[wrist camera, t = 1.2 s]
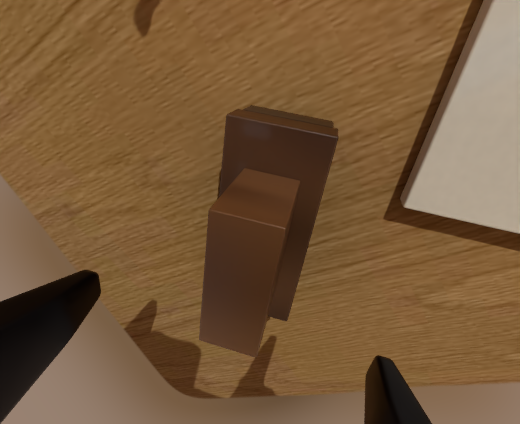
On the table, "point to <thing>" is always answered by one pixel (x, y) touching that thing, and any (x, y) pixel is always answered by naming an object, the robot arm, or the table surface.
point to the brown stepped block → (261, 222)
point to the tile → (476, 130)
